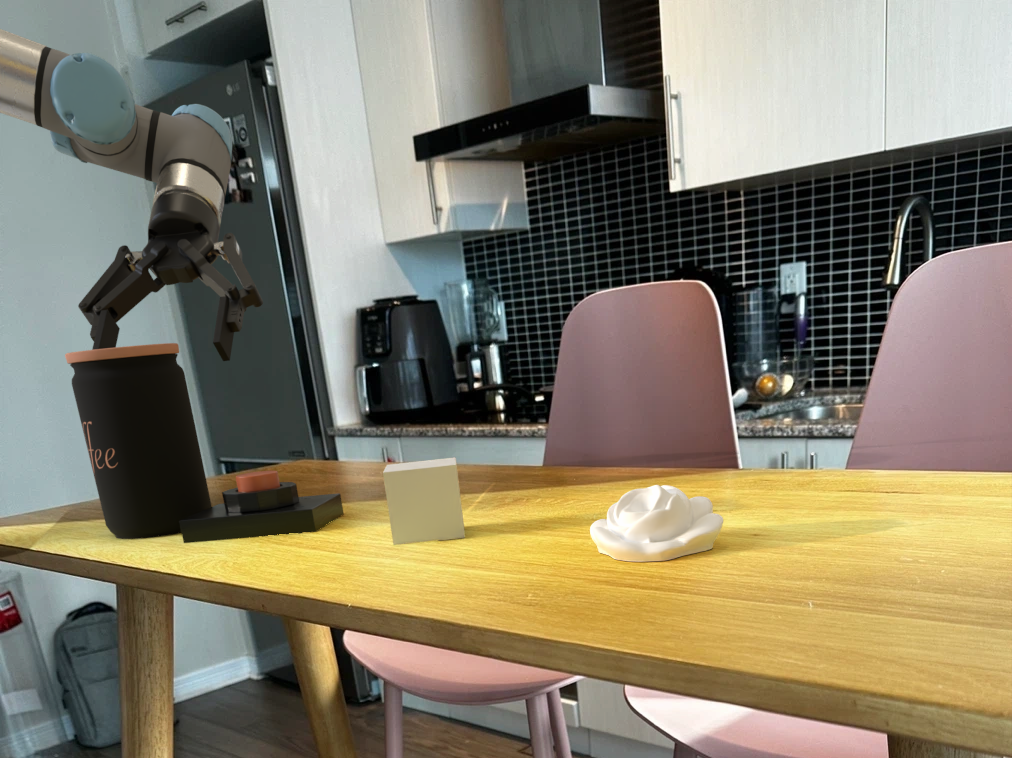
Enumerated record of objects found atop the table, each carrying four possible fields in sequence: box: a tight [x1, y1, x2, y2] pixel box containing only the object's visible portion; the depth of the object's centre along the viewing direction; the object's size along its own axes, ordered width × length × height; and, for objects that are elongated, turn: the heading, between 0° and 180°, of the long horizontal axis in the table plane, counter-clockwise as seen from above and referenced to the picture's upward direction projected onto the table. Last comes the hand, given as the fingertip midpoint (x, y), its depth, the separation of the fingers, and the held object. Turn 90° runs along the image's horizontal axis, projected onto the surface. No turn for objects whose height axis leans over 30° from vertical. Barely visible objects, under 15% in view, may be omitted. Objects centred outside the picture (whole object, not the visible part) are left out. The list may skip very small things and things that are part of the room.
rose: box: [589, 484, 724, 563], centre depth 73 cm, size 10×4×10 cm
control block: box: [179, 481, 344, 544], centre depth 101 cm, size 13×10×4 cm
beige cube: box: [382, 457, 466, 546], centre depth 87 cm, size 6×6×6 cm
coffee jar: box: [64, 342, 213, 540], centre depth 104 cm, size 11×11×18 cm
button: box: [235, 470, 280, 492], centre depth 100 cm, size 4×4×2 cm
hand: (160, 358), depth 110 cm, fingers open, 13 cm apart
